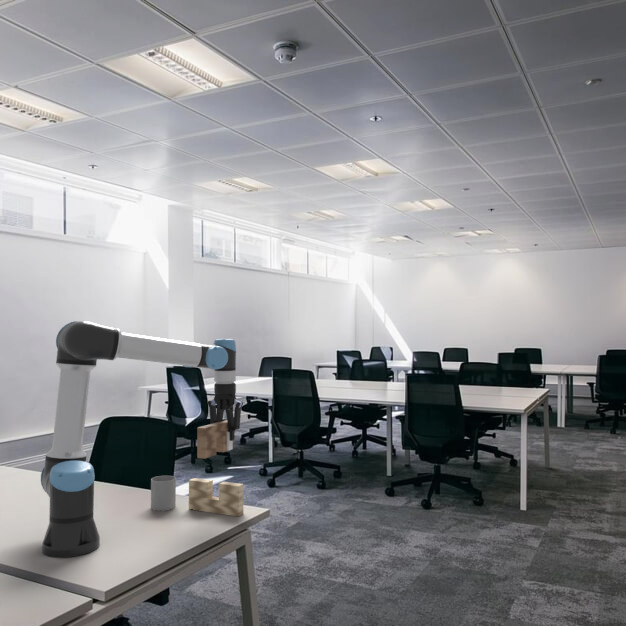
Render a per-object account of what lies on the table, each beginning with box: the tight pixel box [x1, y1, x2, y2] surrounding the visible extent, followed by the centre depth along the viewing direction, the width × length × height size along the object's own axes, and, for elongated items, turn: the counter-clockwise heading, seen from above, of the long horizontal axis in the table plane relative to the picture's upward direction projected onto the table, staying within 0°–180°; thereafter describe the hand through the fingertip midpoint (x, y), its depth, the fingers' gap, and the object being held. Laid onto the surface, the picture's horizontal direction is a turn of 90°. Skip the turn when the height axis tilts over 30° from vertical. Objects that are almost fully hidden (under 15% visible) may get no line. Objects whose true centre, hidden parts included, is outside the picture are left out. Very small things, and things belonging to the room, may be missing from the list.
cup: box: [150, 475, 177, 511], centre depth 207 cm, size 8×8×10 cm
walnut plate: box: [196, 419, 235, 460], centre depth 202 cm, size 18×3×10 cm, turn 156°
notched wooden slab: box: [188, 477, 244, 517], centre depth 202 cm, size 20×3×10 cm, turn 66°
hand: (225, 449), depth 207 cm, fingers closed on walnut plate, 3 cm apart
